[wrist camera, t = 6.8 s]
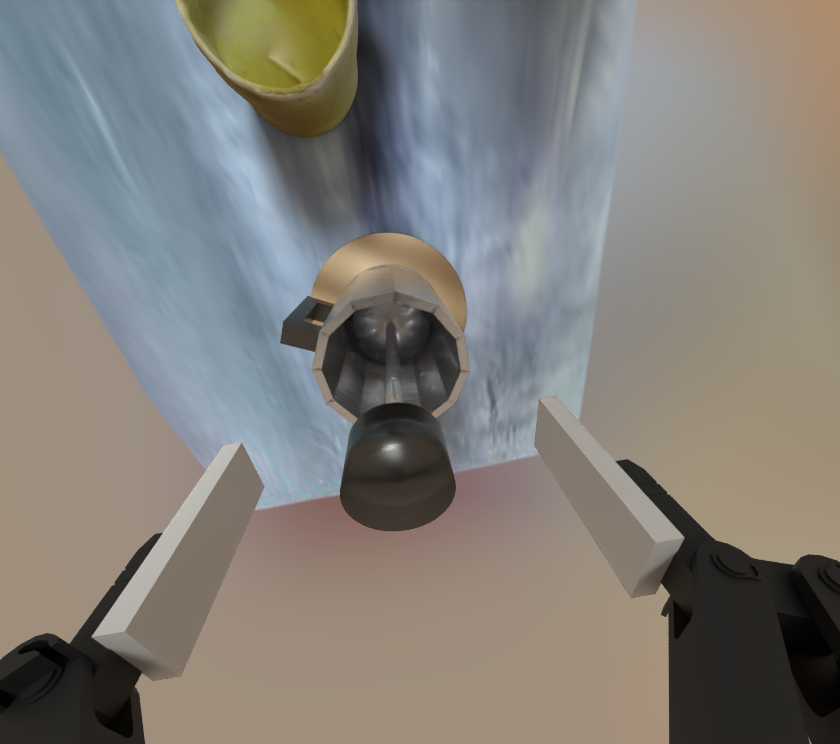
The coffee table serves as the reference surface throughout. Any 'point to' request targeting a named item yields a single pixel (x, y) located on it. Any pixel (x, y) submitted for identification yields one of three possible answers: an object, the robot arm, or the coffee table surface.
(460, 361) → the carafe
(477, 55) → the coffee table surface
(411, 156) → the coffee table surface
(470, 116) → the coffee table surface
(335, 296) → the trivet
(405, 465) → the plunger
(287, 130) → the mug
